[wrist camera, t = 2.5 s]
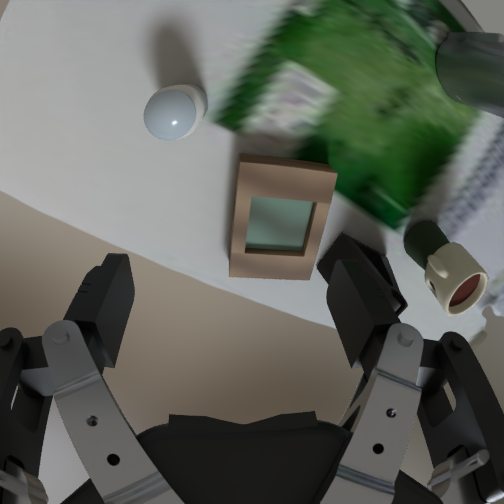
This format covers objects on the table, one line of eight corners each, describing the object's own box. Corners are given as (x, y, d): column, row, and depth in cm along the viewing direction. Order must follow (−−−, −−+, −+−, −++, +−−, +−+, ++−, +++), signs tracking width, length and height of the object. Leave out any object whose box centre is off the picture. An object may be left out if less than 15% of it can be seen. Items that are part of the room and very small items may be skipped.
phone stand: (386, 256, 39) (424, 314, 29) (361, 286, 42) (391, 347, 32) (341, 232, 36) (378, 295, 26) (315, 266, 39) (341, 333, 29)
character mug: (382, 241, 37) (427, 306, 27) (412, 200, 34) (469, 256, 23) (424, 266, 41) (465, 323, 30) (450, 232, 37) (499, 285, 27)
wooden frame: (239, 153, 30) (240, 162, 27) (328, 164, 31) (337, 173, 28) (228, 261, 37) (228, 276, 35) (304, 265, 39) (309, 280, 36)
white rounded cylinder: (165, 83, 25) (141, 86, 18) (210, 84, 25) (201, 86, 18) (162, 125, 27) (139, 144, 20) (206, 126, 28) (197, 144, 21)
